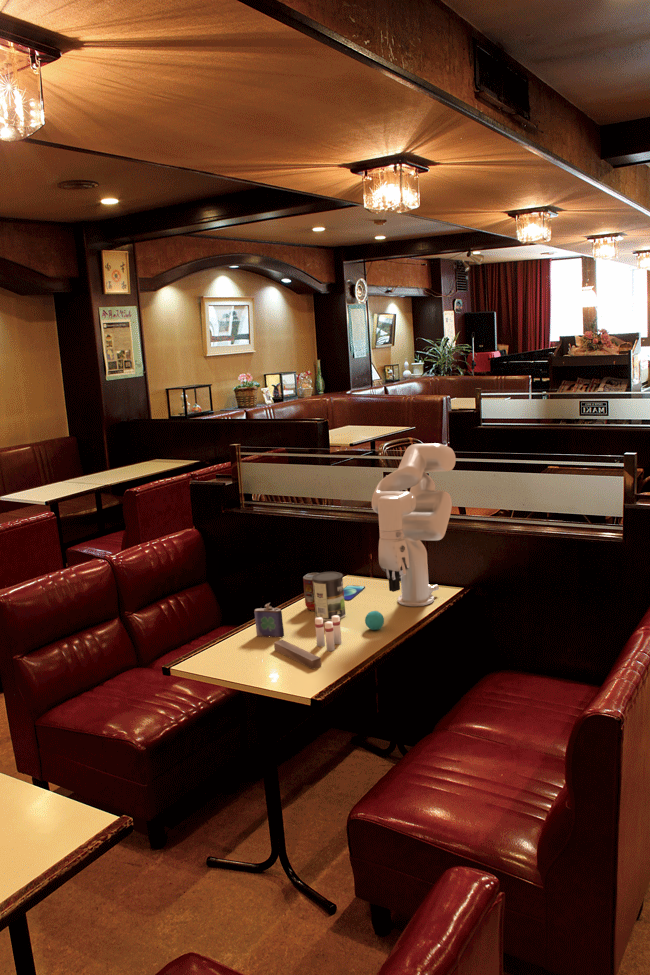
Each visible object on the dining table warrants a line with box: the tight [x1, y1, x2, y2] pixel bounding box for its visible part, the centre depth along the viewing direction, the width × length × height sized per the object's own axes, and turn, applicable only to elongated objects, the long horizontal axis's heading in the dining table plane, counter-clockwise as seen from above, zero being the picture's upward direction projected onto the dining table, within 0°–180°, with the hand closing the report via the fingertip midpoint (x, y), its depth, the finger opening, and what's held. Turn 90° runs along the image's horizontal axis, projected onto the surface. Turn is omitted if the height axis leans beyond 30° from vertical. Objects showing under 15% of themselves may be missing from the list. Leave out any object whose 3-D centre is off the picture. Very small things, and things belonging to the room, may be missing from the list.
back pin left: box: [324, 621, 336, 652], centre depth 223 cm, size 2×2×8 cm
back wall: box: [273, 639, 322, 670], centre depth 219 cm, size 3×20×2 cm, turn 36°
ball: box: [364, 610, 385, 631], centre depth 236 cm, size 6×6×6 cm
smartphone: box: [343, 584, 366, 601], centre depth 275 cm, size 8×1×15 cm
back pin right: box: [314, 617, 326, 648], centre depth 227 cm, size 2×2×8 cm
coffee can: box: [312, 571, 346, 622], centre depth 251 cm, size 10×10×14 cm
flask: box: [253, 602, 285, 638], centre depth 238 cm, size 9×3×11 cm, turn 73°
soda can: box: [302, 572, 319, 612], centre depth 260 cm, size 7×7×12 cm
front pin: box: [331, 615, 343, 645], centre depth 227 cm, size 2×2×8 cm
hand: (394, 590), depth 240 cm, fingers closed
